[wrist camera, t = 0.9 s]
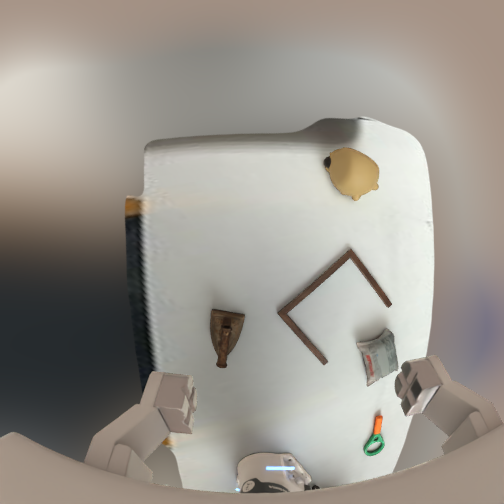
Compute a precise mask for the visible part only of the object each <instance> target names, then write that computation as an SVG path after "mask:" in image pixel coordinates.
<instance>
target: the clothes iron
mask: <svg viewBox="0 0 504 504" xmlns="http://www.w3.org/2000/svg"><path fill="white" fill-rule="evenodd" d="M244 318H245V315H244V314H239V313H233V312H227V311H221V310H215V309H212V311H211V323H210V330H211V339H212V343H213V346H214V349H215V351H216V353H217V355H218V361H217V363H216V365H217V366H218V367H219V368H226V367H227V363H226V361H227V355H228V354H229V353H230V352H231V351H232V349H233V348H234V346H235V345H236V343H237V341H238V339H239V336H240V333H241V330H242V327H243V323H244Z"/></svg>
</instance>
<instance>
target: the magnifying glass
mask: <svg viewBox="0 0 504 504" xmlns="http://www.w3.org/2000/svg"><path fill="white" fill-rule="evenodd" d="M382 418H383V417H382V416H377V417H376V419H375V426H374V432H373V435H372V436H371V438H370V439H369V441H368V442H367V444H366V445H365V447H364V452H365V454H366V455H368V456H374V455H376V454H378V453H379V452H381V450H382V449H383V448H384V445H385V443H384V441H383V439H382V437H381V436H380V430H381V424H382ZM376 437H378V438H377V439H375V438H376ZM374 439H375V440H374ZM375 442H381V443H382V444H381V446H380V447H379V448H378V449H377V450H376V451H373V452H367V448H368V447H369V446H370V445H371V444H373V443H375Z"/></svg>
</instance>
